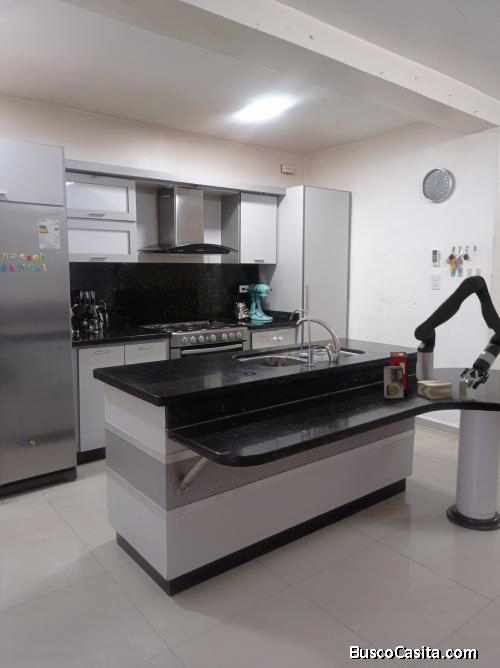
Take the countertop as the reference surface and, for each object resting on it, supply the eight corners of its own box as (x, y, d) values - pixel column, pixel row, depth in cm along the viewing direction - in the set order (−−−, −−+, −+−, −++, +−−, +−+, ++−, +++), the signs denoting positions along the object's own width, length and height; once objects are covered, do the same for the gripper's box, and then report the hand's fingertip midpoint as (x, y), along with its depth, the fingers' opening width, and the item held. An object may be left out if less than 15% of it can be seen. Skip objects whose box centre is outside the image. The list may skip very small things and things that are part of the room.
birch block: (417, 394, 261) (416, 381, 260) (437, 391, 264) (437, 379, 264) (431, 399, 249) (431, 386, 248) (452, 396, 252) (452, 383, 251)
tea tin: (458, 398, 248) (458, 379, 247) (466, 397, 250) (466, 378, 249) (466, 400, 243) (466, 381, 242) (474, 399, 245) (474, 380, 244)
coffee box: (401, 395, 260) (401, 365, 258) (403, 398, 254) (403, 367, 252) (383, 395, 261) (383, 366, 259) (386, 398, 254) (385, 368, 252)
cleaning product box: (407, 393, 263) (407, 357, 260) (390, 393, 265) (390, 357, 262) (406, 386, 278) (406, 352, 276) (390, 386, 281) (390, 352, 278)
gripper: (469, 355, 254) (452, 379, 251) (491, 359, 241) (473, 385, 238) (477, 364, 256) (460, 388, 254) (499, 368, 243) (481, 394, 240)
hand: (466, 386), depth 246 cm, fingers open, 8 cm apart
